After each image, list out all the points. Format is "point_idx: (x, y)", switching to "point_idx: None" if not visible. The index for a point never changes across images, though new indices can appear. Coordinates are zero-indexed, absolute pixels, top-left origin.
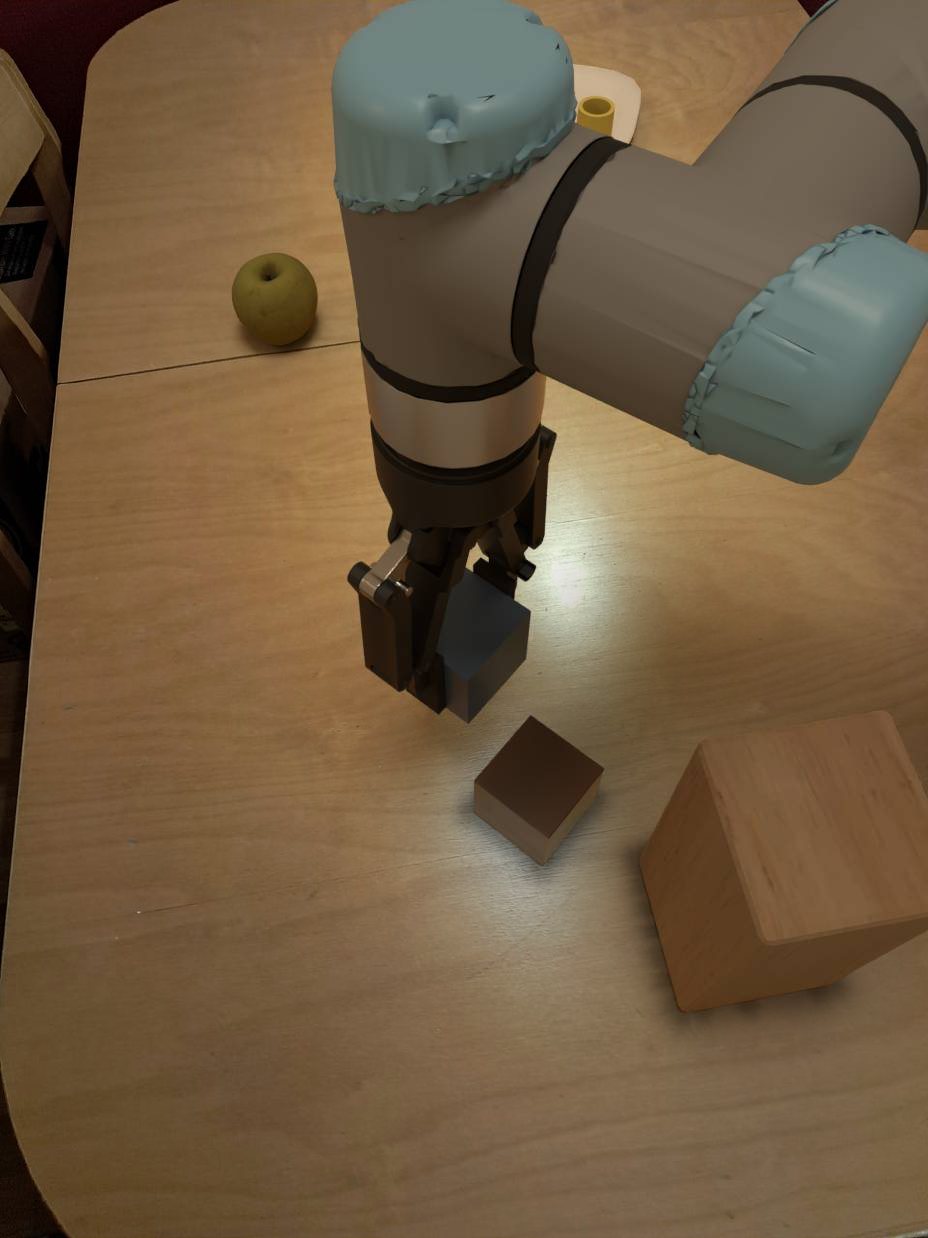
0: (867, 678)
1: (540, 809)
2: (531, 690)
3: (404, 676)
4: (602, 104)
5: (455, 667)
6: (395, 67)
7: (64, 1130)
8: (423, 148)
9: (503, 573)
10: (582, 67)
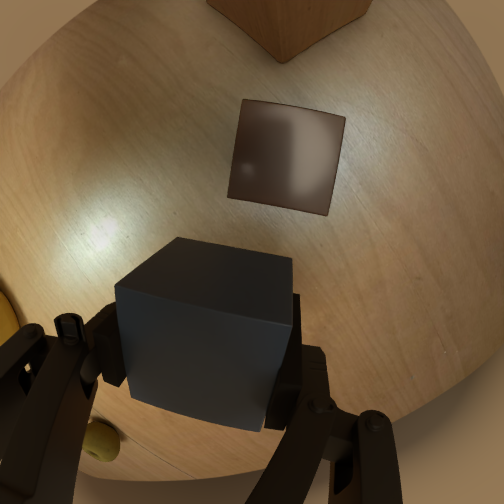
0: (81, 31)
1: (321, 137)
2: (191, 211)
3: (379, 443)
4: None
5: (278, 351)
6: None
7: None
8: None
9: (97, 350)
10: None
